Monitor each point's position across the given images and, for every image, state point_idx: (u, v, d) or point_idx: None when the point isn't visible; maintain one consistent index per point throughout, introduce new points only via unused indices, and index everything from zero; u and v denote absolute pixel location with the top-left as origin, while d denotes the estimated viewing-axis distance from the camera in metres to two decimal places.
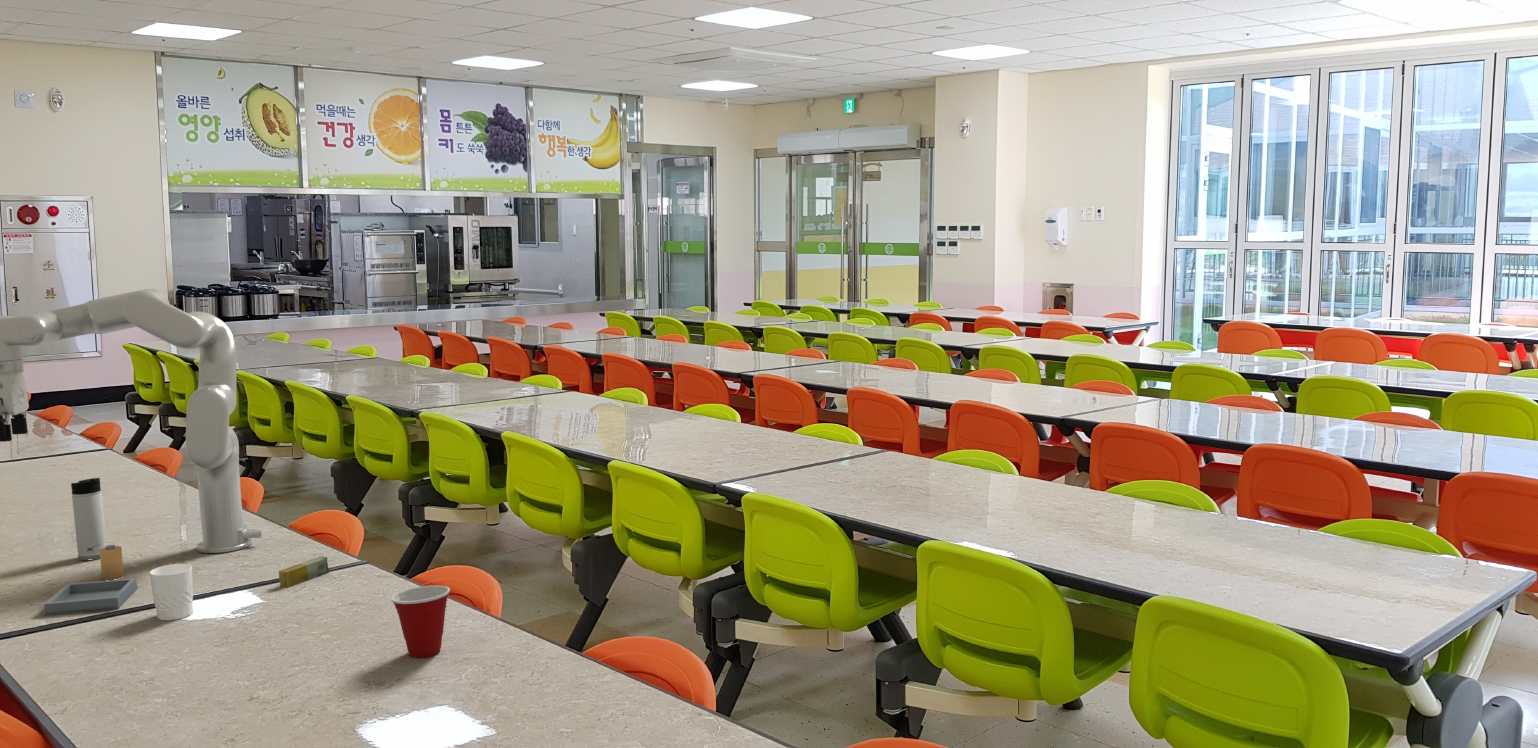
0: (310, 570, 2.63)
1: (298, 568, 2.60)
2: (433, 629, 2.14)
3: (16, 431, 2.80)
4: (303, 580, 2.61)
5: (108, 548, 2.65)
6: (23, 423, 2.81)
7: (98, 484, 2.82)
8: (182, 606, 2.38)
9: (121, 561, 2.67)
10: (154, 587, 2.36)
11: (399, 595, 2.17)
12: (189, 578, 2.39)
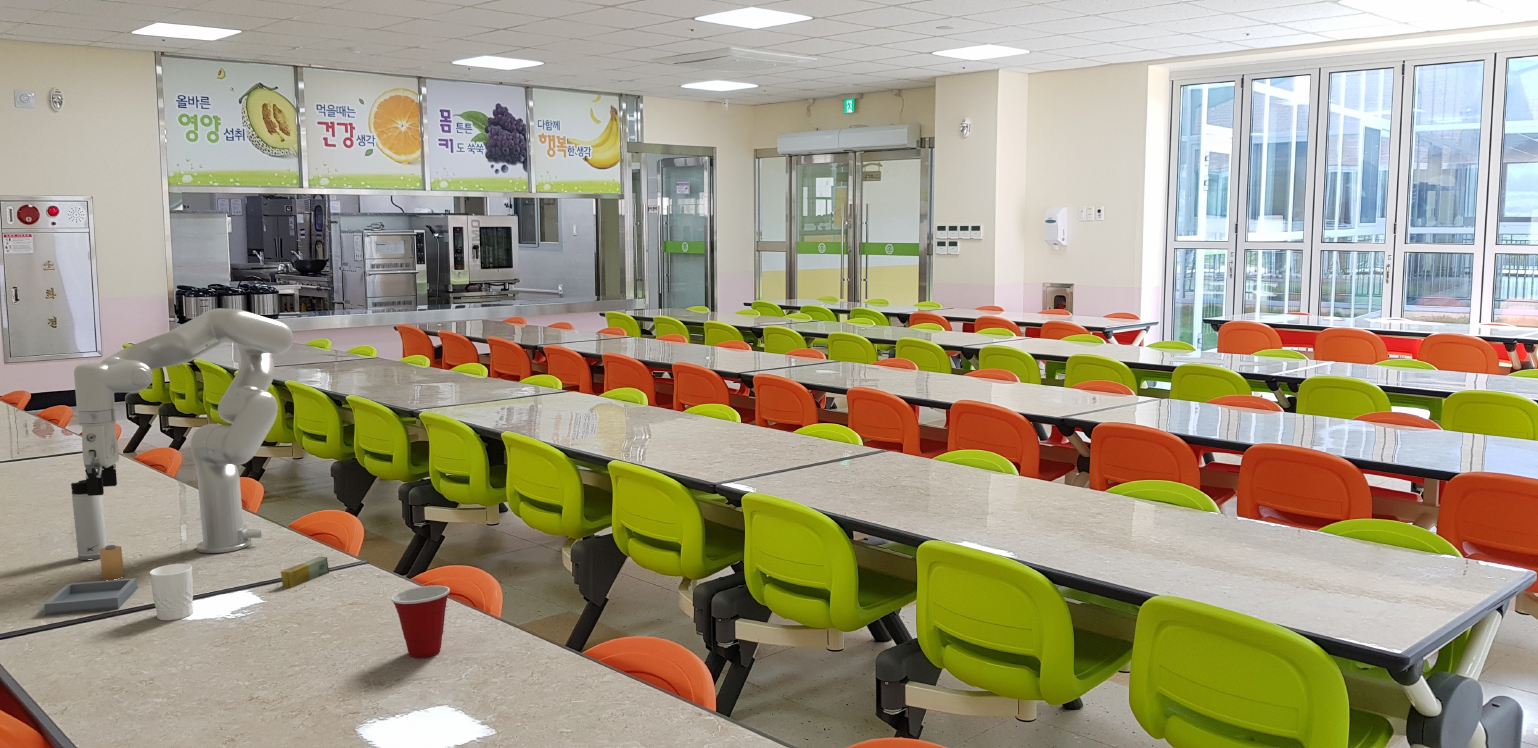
0: (311, 570, 2.63)
1: (300, 568, 2.60)
2: (433, 629, 2.14)
3: (105, 483, 2.68)
4: (305, 580, 2.61)
5: (108, 548, 2.65)
6: (113, 475, 2.68)
7: None
8: (182, 606, 2.38)
9: (121, 561, 2.67)
10: (154, 587, 2.36)
11: (399, 595, 2.17)
12: (189, 578, 2.39)
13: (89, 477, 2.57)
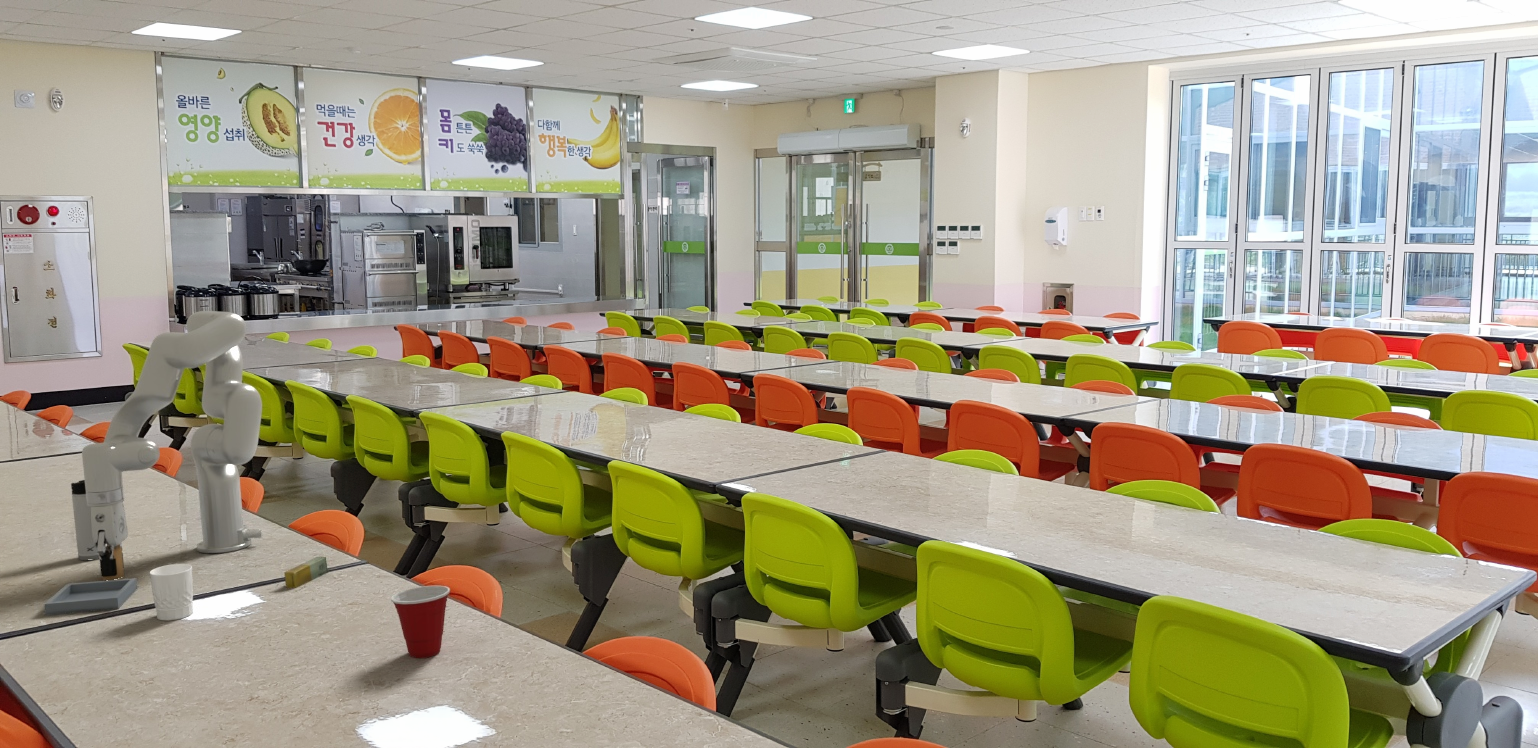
0: (312, 570, 2.63)
1: (303, 568, 2.60)
2: (433, 629, 2.14)
3: None
4: (307, 580, 2.61)
5: None
6: None
7: None
8: (182, 606, 2.38)
9: (121, 561, 2.67)
10: (154, 587, 2.36)
11: (399, 595, 2.17)
12: (189, 578, 2.39)
13: (103, 559, 2.63)
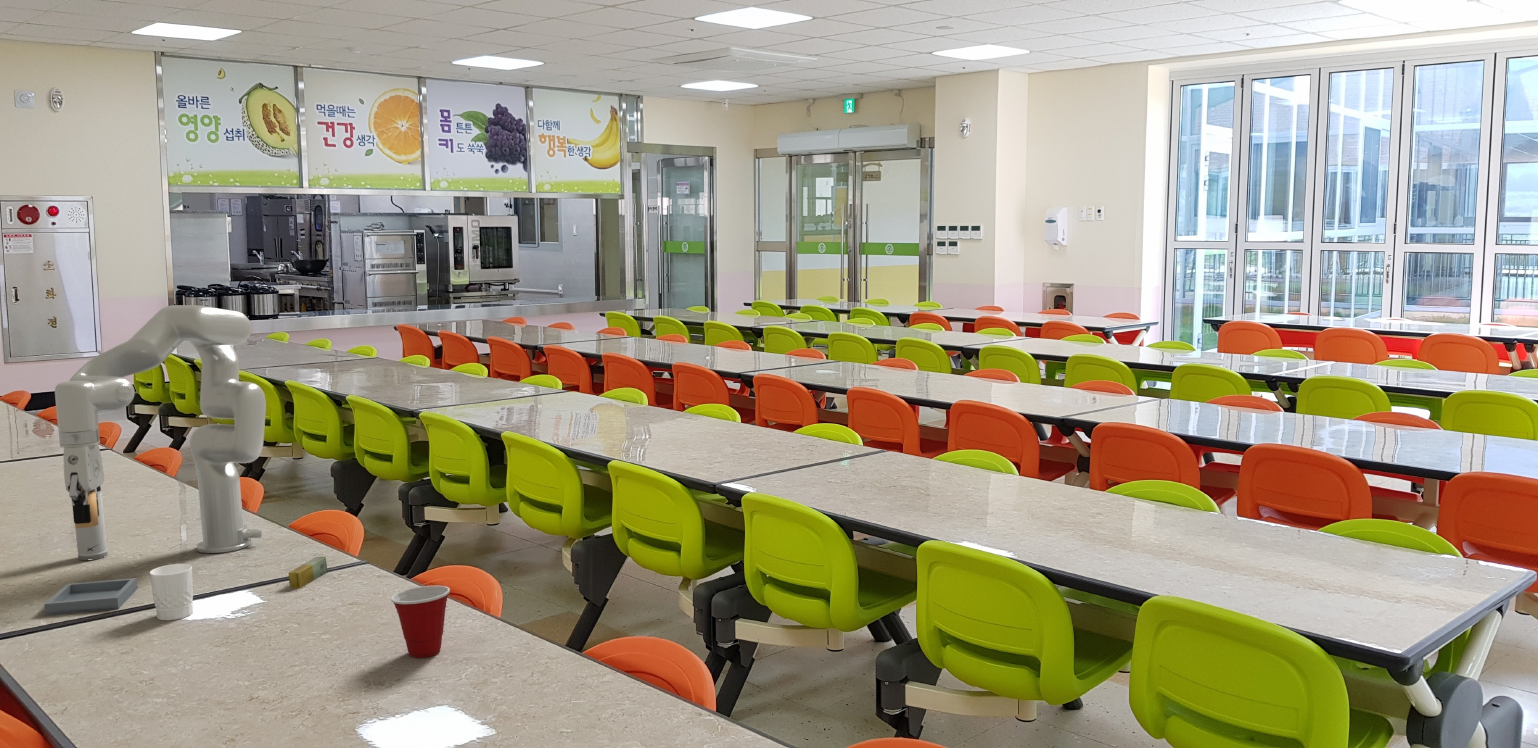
0: (314, 570, 2.63)
1: (306, 568, 2.60)
2: (433, 629, 2.14)
3: None
4: (310, 580, 2.61)
5: None
6: None
7: None
8: (182, 606, 2.38)
9: (95, 508, 2.50)
10: (154, 587, 2.36)
11: (399, 595, 2.17)
12: (189, 578, 2.39)
13: (75, 504, 2.46)
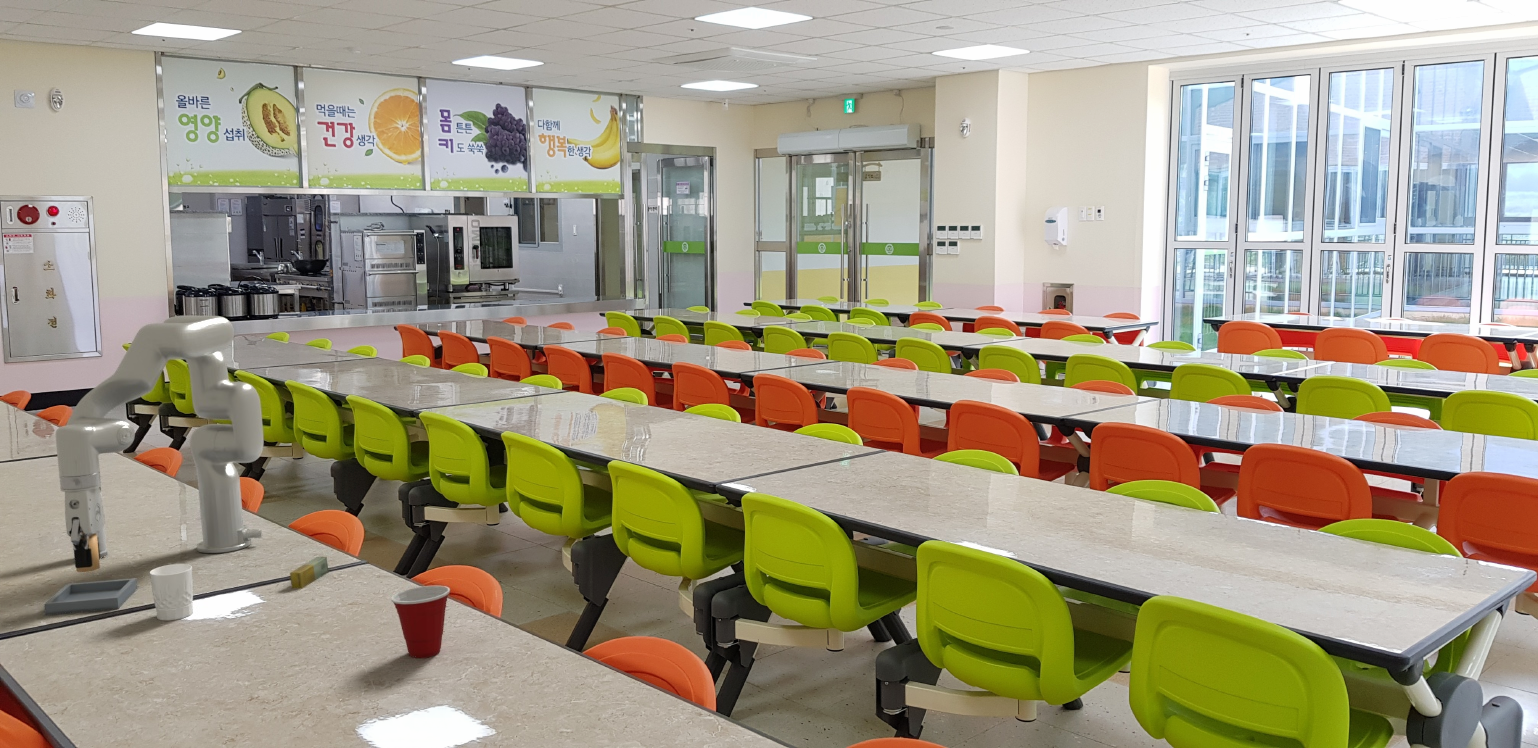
0: (316, 570, 2.63)
1: (308, 568, 2.60)
2: (433, 629, 2.14)
3: None
4: (312, 580, 2.61)
5: None
6: None
7: None
8: (182, 606, 2.38)
9: (97, 551, 2.49)
10: (154, 587, 2.36)
11: (399, 595, 2.17)
12: (189, 578, 2.39)
13: (77, 549, 2.44)
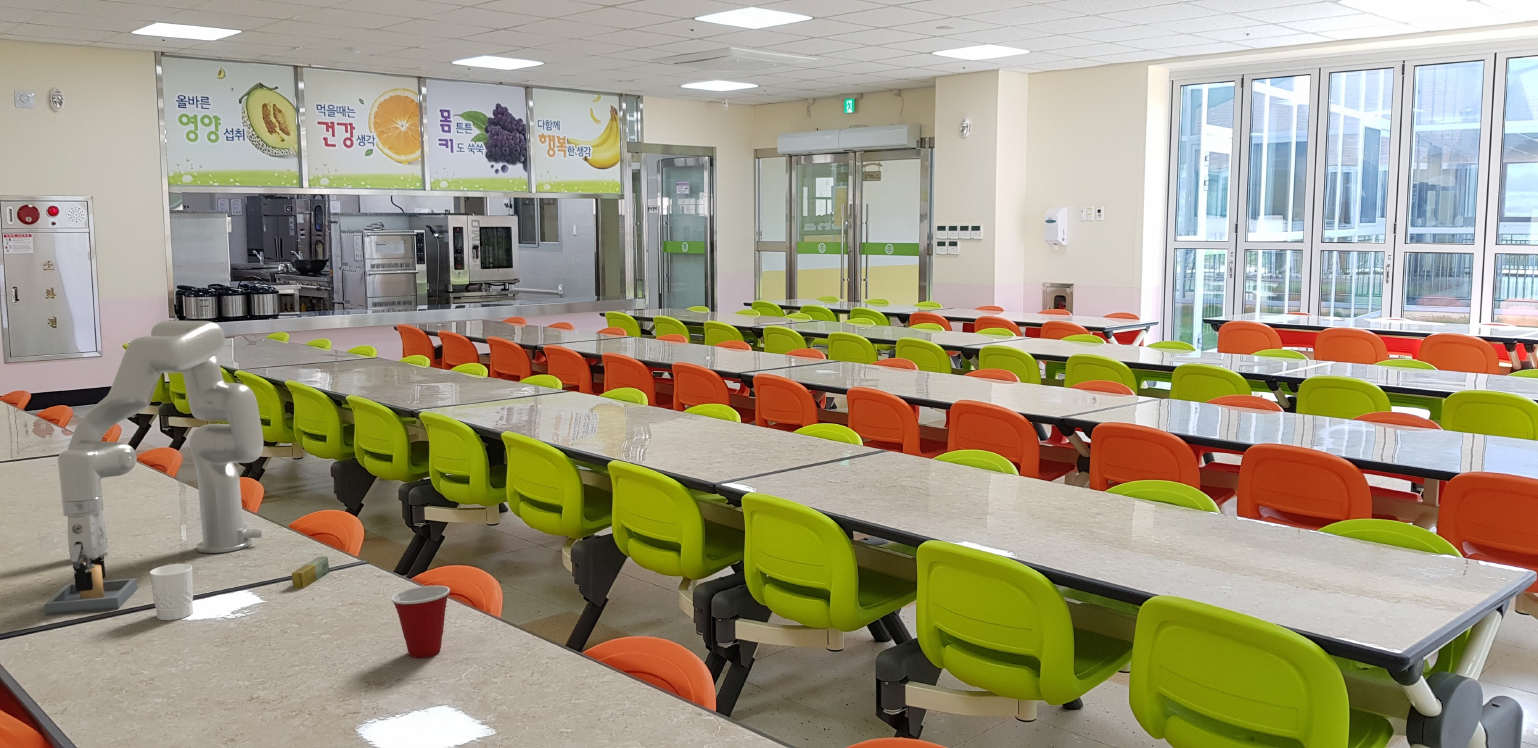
0: (317, 570, 2.63)
1: (309, 568, 2.60)
2: (433, 629, 2.14)
3: None
4: (313, 580, 2.61)
5: None
6: (101, 567, 2.53)
7: None
8: (182, 606, 2.38)
9: (101, 581, 2.50)
10: (154, 587, 2.36)
11: (399, 595, 2.17)
12: (189, 578, 2.39)
13: (77, 572, 2.44)
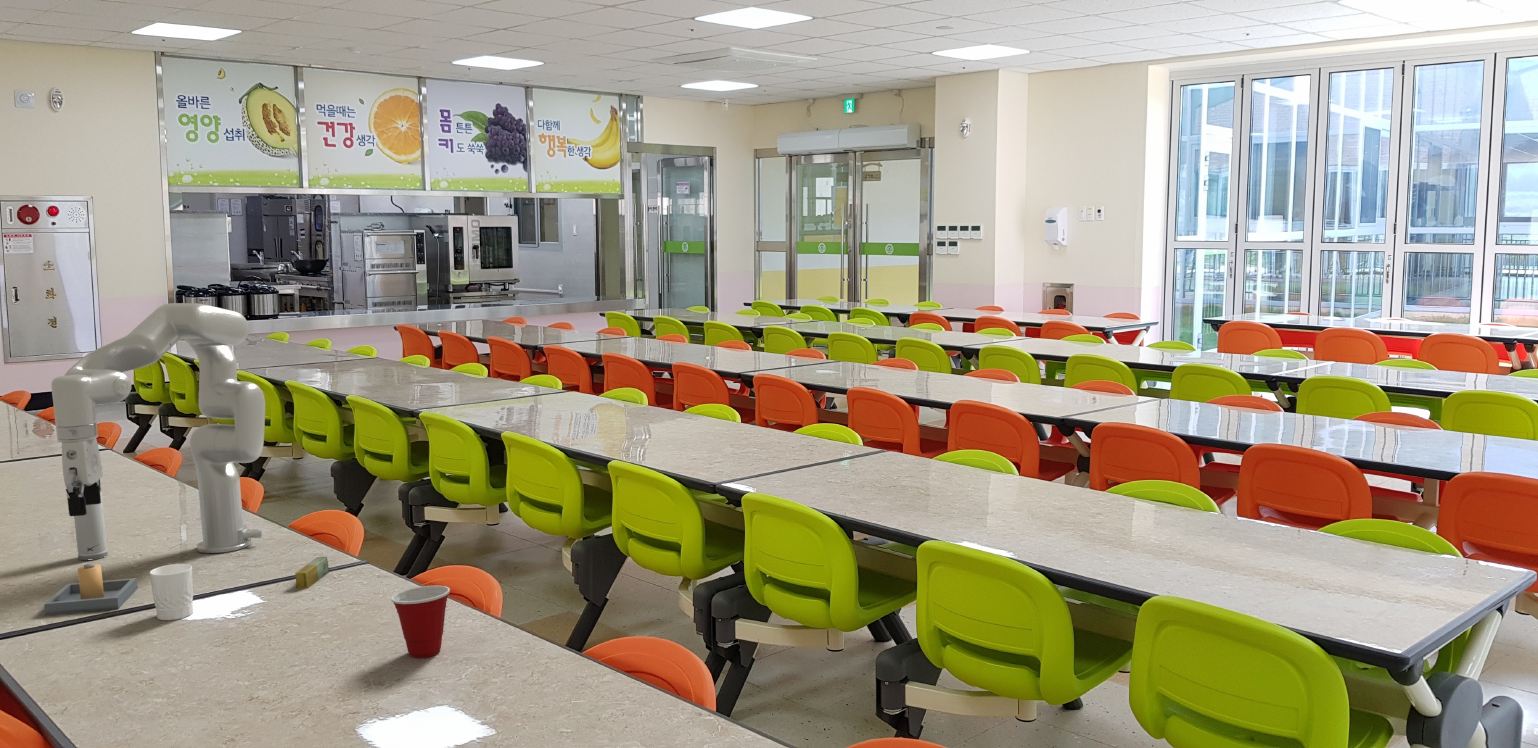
0: (319, 570, 2.63)
1: (312, 568, 2.60)
2: (433, 629, 2.14)
3: (89, 501, 2.52)
4: (316, 580, 2.61)
5: (86, 567, 2.48)
6: (96, 492, 2.53)
7: None
8: (182, 606, 2.38)
9: (100, 581, 2.50)
10: (154, 587, 2.36)
11: (399, 595, 2.17)
12: (189, 578, 2.39)
13: (70, 497, 2.42)
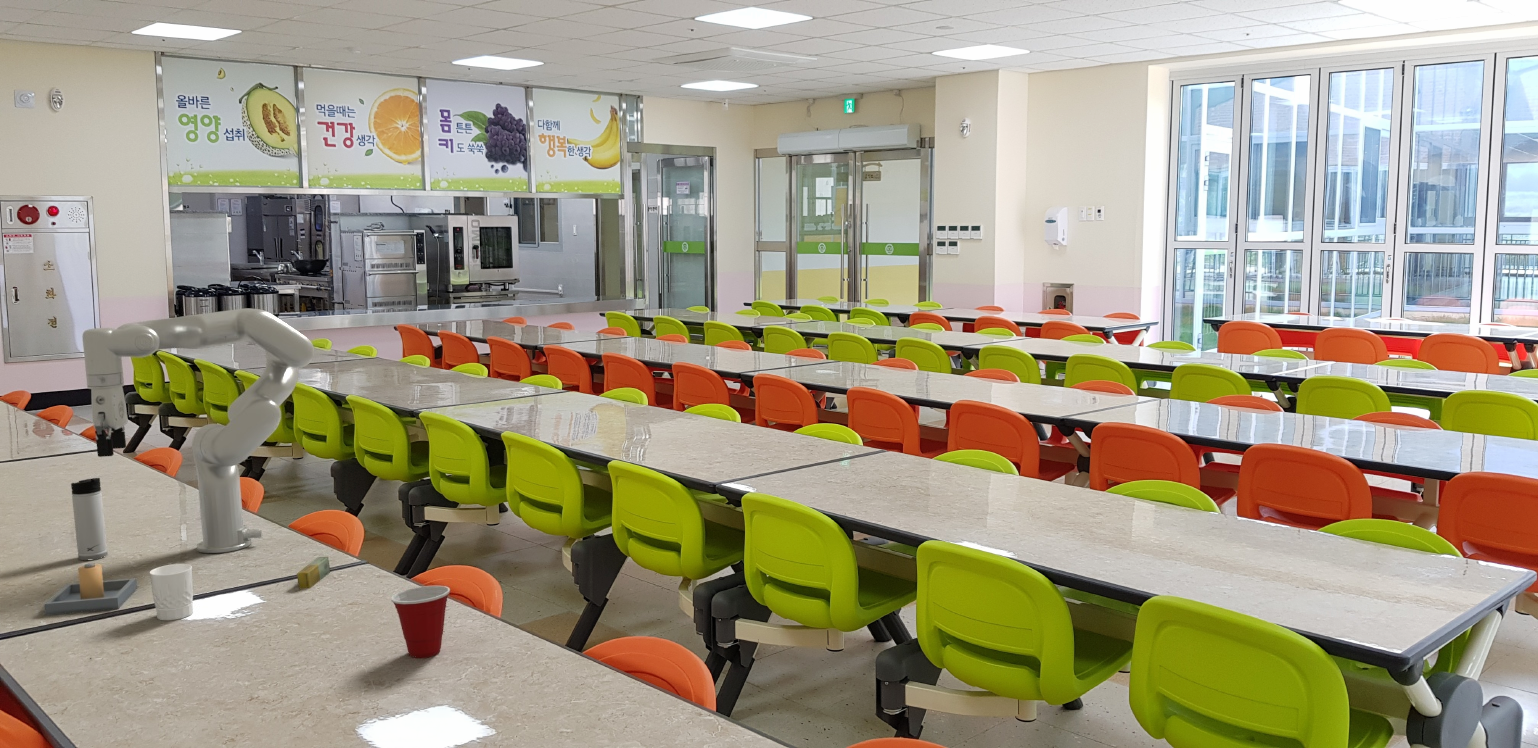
0: (320, 570, 2.63)
1: (314, 568, 2.60)
2: (433, 629, 2.14)
3: (115, 445, 2.75)
4: (317, 580, 2.61)
5: (87, 566, 2.49)
6: (122, 437, 2.75)
7: (98, 484, 2.82)
8: (182, 606, 2.38)
9: (100, 581, 2.50)
10: (154, 587, 2.36)
11: (399, 595, 2.17)
12: (189, 578, 2.39)
13: (99, 438, 2.64)
